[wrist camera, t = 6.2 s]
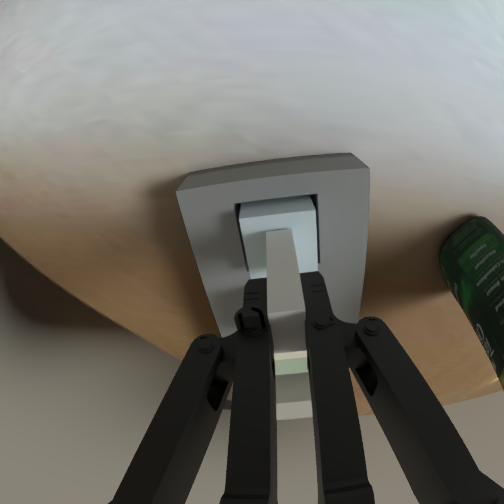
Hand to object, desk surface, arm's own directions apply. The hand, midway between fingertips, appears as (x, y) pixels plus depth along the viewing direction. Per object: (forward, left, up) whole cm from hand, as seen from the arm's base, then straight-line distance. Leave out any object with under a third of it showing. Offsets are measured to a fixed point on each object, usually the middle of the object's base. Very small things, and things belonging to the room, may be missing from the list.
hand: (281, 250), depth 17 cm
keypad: (+9, 0, -6) cm, 11 cm away
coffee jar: (+7, +20, -6) cm, 22 cm away
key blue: (0, 0, -4) cm, 4 cm away
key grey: (+18, 0, -2) cm, 18 cm away
